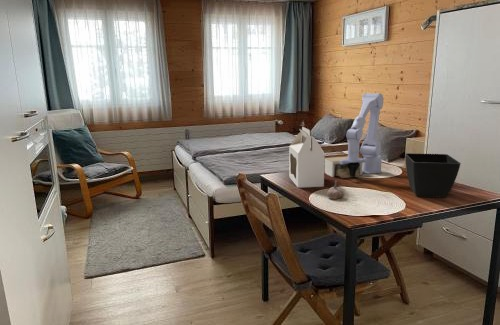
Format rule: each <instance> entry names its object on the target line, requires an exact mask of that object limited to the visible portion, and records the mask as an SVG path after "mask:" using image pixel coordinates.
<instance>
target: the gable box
mask: <svg viewBox="0 0 500 325" xmlns="http://www.w3.org/2000/svg"><path fill="white" fill-rule="evenodd" d="M299 131H300V132H298V133H297V135H296V136H295V138H294V139H293V141H292V142H291V144H290V145H289V146H288V148H289V149H288V150H289V153H288V157H289V160H288V161H289V162H288V168H289V169H288V174H289V176H288V178H290V179H291V181H292V182H293V183H294V184H295V186H296V187H297V188H300V189H302V188H321V187H325V173H324V165H325V151H324V150H323V149H322V147H321V145H320V144H319V142H318V141H317V139H316V138H315V136H312V130H311V129H309V128H306V127H305V126H302V127H301V128H299Z"/></svg>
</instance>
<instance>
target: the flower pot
mask: <svg viewBox="0 0 500 325" xmlns="http://www.w3.org/2000/svg"><path fill="white" fill-rule="evenodd" d="M404 156H405V159H404V161H405V168H406V174H407V179H408V180H407V181H408V184H409V187H410V190H411V191H412V193H413V194H414V196H416V197H418V198H419V197H421V198H442V199H443V198H445V199H447V197H448V195H449V194H450V192H451V190H452V188H453V186H454V184H455V182H456V179H457V176H458V175H459V170H460V168H461V162H459V161H458V160H457V159H455V158H454V157H452V156H450V155H449V154H446V153H407V152H406V153H405V154H404Z"/></svg>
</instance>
